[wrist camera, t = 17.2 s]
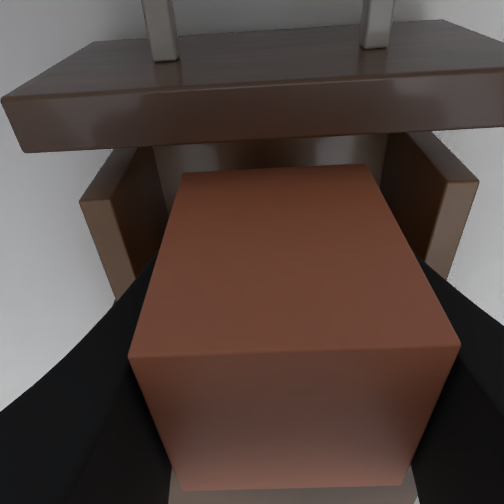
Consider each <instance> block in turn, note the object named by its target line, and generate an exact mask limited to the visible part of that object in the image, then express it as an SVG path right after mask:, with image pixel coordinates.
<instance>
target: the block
mask: <svg viewBox="0 0 504 504" xmlns="http://www.w3.org/2000/svg"><path fill="white" fill-rule="evenodd" d="M460 347H461V342H460V340H459V338H458V336H457V334H456V332H455V331H454V329H453V327H452V325H451V323H450V321H449V319H448V317H447V315H446V314H445V312H444V310H443V308H442V306H441V304H440V302H439V300H438V299H437V297H436V295H435V293H434V291H433V289H432V287H431V285H430V283H429V282H428V280H427V278H426V276H425V274H424V272H423V270H422V268H421V267H420V265H419V263H418V261H417V259H416V257H415V255H414V253H413V251H412V250H411V248H410V246H409V244H408V242H407V240H406V238H405V236H404V235H403V233H402V231H401V229H400V227H399V225H398V223H397V221H396V219H395V218H394V216H393V214H392V212H391V210H390V208H389V206H388V204H387V203H386V201H385V199H384V197H383V195H382V193H381V191H380V189H379V187H378V186H377V184H376V182H375V180H374V178H373V176H372V174H371V172H370V171H369V169H368V167H367V165H366V164H365V163H359V164H340V165H321V166H302V167H283V168H264V169H245V170H225V171H206V172H187V173H182V177H181V180H180V183H179V187H178V190H177V193H176V196H175V200H174V203H173V206H172V210H171V213H170V216H169V220H168V223H167V226H166V230H165V233H164V236H163V240H162V243H161V246H160V250H159V253H158V256H157V260H156V263H155V266H154V270H153V273H152V276H151V280H150V283H149V286H148V290H147V293H146V296H145V300H144V303H143V306H142V310H141V313H140V316H139V320H138V323H137V326H136V330H135V333H134V336H133V340H132V343H131V346H130V350H129V353H128V359H129V362H130V364H131V367H132V369H133V372H134V374H135V377H136V379H137V382H138V384H139V386H140V389H141V391H142V394H143V396H144V399H145V401H146V404H147V406H148V409H149V411H150V414H151V416H152V418H153V421H154V423H155V426H156V428H157V431H158V433H159V436H160V438H161V441H162V443H163V446H164V448H165V450H166V453H167V455H168V458H169V460H170V463H171V465H172V468H173V470H174V473H175V475H176V478H177V480H178V482H179V485H180V487H181V490H182V491H209V490H247V489H286V488H324V487H362V486H400V485H401V484H402V482H403V480H404V477H405V475H406V473H407V470H408V468H409V466H410V463H411V461H412V459H413V456H414V454H415V452H416V449H417V447H418V445H419V442H420V440H421V438H422V435H423V433H424V431H425V428H426V426H427V424H428V421H429V419H430V417H431V414H432V412H433V410H434V407H435V405H436V403H437V400H438V398H439V396H440V393H441V391H442V389H443V386H444V384H445V382H446V379H447V377H448V375H449V372H450V370H451V368H452V366H453V363H454V361H455V359H456V356H457V354H458V352H459V349H460Z"/></svg>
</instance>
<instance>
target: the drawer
mask: <svg viewBox="0 0 504 504" xmlns="http://www.w3.org/2000/svg"><path fill="white" fill-rule="evenodd" d="M141 2H142V7H143V12H144V17H145V22H146V28H147V33H148V38H144V39H128V40H112V41H97V42H92V43H90V44H89V45H87V46H86V47H84V48H82V49H81V50H79V51H77V52H76V53H74V54H72V55H71V56H69V57H67V58H66V59H64V60H62V61H61V62H59V63H58V64H56V65H54V66H53V67H51V68H49V69H48V70H46V71H44V72H43V73H41V74H39V75H38V76H36V77H34V78H33V79H31V80H30V81H28V82H26V83H25V84H23V85H21V86H20V87H18V88H16V89H15V90H13V91H11V92H10V93H8V94H6V95H5V96H3V97H2V98H1V104H2V106H3V108H4V110H5V113H6V115H7V117H8V119H9V122H10V124H11V126H12V129H13V131H14V133H15V135H16V138H17V140H18V142H19V144H20V147H21V149H22V151H23V152H24V153H40V152H59V151H77V150H95V149H113V148H114V150H113V151H112V153H111V154H110V156H109V157H108V158H107V160H106V161H105V163H104V164H103V166H102V167H101V169H100V170H99V172H98V173H97V175H96V176H95V178H94V179H93V181H92V182H91V184H90V185H89V187H88V188H87V190H86V191H85V193H84V194H83V196H82V197H81V199H80V200H79V204H80V206H81V209H82V212H83V214H84V217H85V220H86V222H87V225H88V228H89V230H90V233H91V235H92V238H93V241H94V243H95V246H96V249H97V251H98V254H99V256H100V259H101V262H102V264H103V267H104V270H105V272H106V275H107V277H108V280H109V283H110V285H111V288H112V291H113V293H114V296H115V298H116V301H117V300H118V299H119V298H120V297H121V296H122V295H123V293H124V292H125V291H126V290H127V289H128V287H129V286H130V285H131V284H132V283H133V281H134V280H135V279H136V278H137V276H138V275H139V274H140V273H141V271H142V270H143V269H144V268H145V266H146V265H147V264H148V262H149V261H150V260H151V259H152V257H153V256H154V255H155V254H156V253H157V251H158V250H159V249H160V246H161V243H162V240H163V236H164V233H165V230H166V226H167V223H168V220H169V216H170V213H171V210H172V206H173V203H174V200H175V196H176V193H177V190H178V187H179V183H180V180H181V177H182V173H187V172H206V171H225V170H245V169H264V168H283V167H302V166H321V165H340V164H359V163H365V164H366V165H367V167H368V169H369V171H370V172H371V174H372V176H373V178H374V180H375V182H376V184H377V186H378V187H379V189H380V191H381V193H382V195H383V197H384V199H385V201H386V203H387V204H388V206H389V208H390V210H391V212H392V214H393V216H394V218H395V219H396V221H397V223H398V225H399V227H400V229H401V231H402V233H403V235H404V236H405V238H406V240H407V242H408V244H409V246H410V248H411V250H412V251H413V252H414V253H415V254H416V255H418V256H419V257H420V258H421V259H422V260H423V261H424V262H425V263H427V264H428V265H429V266H430V267H431V268H432V269H433V270H435V271H436V272H437V273H438V274H439V275H440V276H441V277H443V278H444V279H445V280H447V277H448V274H449V271H450V268H451V265H452V262H453V259H454V256H455V253H456V250H457V247H458V244H459V242H460V239H461V236H462V233H463V230H464V227H465V224H466V221H467V218H468V215H469V212H470V209H471V206H472V203H473V200H474V197H475V194H476V191H477V188H478V185H479V180H478V178H477V177H476V176H475V175H474V174H473V173H472V172H471V171H470V170H469V169H468V168H467V167H466V166H465V165H464V164H463V163H462V162H461V161H460V160H459V159H458V158H457V157H456V156H455V155H454V154H453V153H452V152H451V151H450V150H449V149H448V148H447V147H446V146H445V145H444V144H443V143H442V142H441V141H440V140H439V139H438V138H437V137H436V136H435V135H434V134H433V133H432V132H431V131H440V130H458V129H476V128H494V127H504V43H503V42H500V41H498V40H495V39H493V38H490V37H487V36H485V35H482V34H479V33H477V32H474V31H471V30H469V29H466V28H464V27H461V26H458V25H456V24H453V23H450V22H448V21H445V20H442V19H441V20H425V21H409V22H394V23H392V20H393V13H394V6H395V0H363V8H362V18H361V25H347V26H331V27H316V28H300V29H284V30H269V31H253V32H237V33H222V34H206V35H191V36H177V29H176V23H175V16H174V10H173V3H172V0H141Z"/></svg>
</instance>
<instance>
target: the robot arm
mask: <svg viewBox="0 0 504 504" xmlns="http://www.w3.org/2000/svg"><path fill="white" fill-rule="evenodd" d="M159 250H160V249H159ZM159 250H158V251H157V253H156V254H155V255H154V256H153V257H152V259H151V260H150V261H149V262H148V264H147V265H146V266H145V268H144V269H143V270H142V271H141V273H140V274H139V275H138V276H137V278H136V279H135V280H134V281H133V283H132V284H131V285H130V286H129V287H128V289H127V290H126V291H125V292H124V293H123V295H122V296H121V297H120V298H119V299H118V300H117V302H116V303H115V304H114V305H113V306H112V308H111V309H110V310H109V311H108V312H107V313H106V314H105V315H104V317H103V318H102V319H101V320H100V321H99V322H98V323H97V324H96V325H95V326H94V327H93V328H92V329H91V330H90V332H89V333H88V334H87V335H86V336H85V337H84V338H83V339H82V340H81V341H80V342H79V343H78V344H77V345H76V346H75V347H74V348H73V349H72V350H71V351H70V352H69V353H68V354H67V355H66V356H65V357H64V358H63V359H62V360H61V361H60V362H59V363H58V364H56V365H55V366H54V367H53V368H52V369H51V370H50V371H49V372H48V373H47V374H45V375H44V376H43V377H42V378H41V379H40V380H39V381H38V382H36V383H35V384H34V385H33V386H32V387H30V388H29V389H28V390H27V391H26V392H24V393H23V394H22V395H21V396H19V397H18V398H17V399H16V400H14V401H13V402H12V403H11V404H9V405H8V406H7V407H6V408H5V409H3V410H2V411H1V412H0V504H168V502H169V491H170V481H171V472H172V465H171V463H170V460H169V458H168V455H167V453H166V450H165V448H164V446H163V443H162V441H161V438H160V436H159V433H158V431H157V428H156V426H155V423H154V421H153V418H152V416H151V414H150V411H149V409H148V406H147V404H146V401H145V399H144V396H143V394H142V391H141V389H140V386H139V384H138V382H137V379H136V377H135V374H134V372H133V369H132V367H131V364H130V362H129V359H128V353H129V350H130V346H131V343H132V340H133V336H134V333H135V330H136V326H137V323H138V320H139V316H140V313H141V310H142V306H143V303H144V300H145V296H146V293H147V290H148V286H149V283H150V280H151V276H152V273H153V270H154V266H155V263H156V260H157V256H158V253H159ZM413 253H414V252H413ZM414 255H415V257H416V259H417V261H418V263H419V265H420V267H421V268H422V270H423V272H424V274H425V276H426V278H427V280H428V282H429V283H430V285H431V287H432V289H433V291H434V293H435V295H436V297H437V299H438V300H439V302H440V304H441V306H442V308H443V310H444V312H445V314H446V315H447V317H448V319H449V321H450V323H451V325H452V327H453V329H454V331H455V332H456V334H457V336H458V338H459V340H460V342H461V347H460V349H459V352H458V354H457V356H456V359H455V361H454V363H453V366H452V368H451V370H450V372H449V375H448V377H447V379H446V382H445V384H444V386H443V389H442V391H441V393H440V396H439V398H438V400H437V403H436V405H435V407H434V410H433V412H432V414H431V417H430V419H429V421H428V424H427V426H426V428H425V431H424V433H423V435H422V438H421V440H420V442H419V445H418V447H417V449H416V452H415V454H414V456H413V459H412V461H411V463H410V464H411V468H412V472H413V477H414V481H415V485H416V489H417V493H418V498H419V502H420V504H504V326H503V325H502V324H500V323H499V322H498V321H496V320H495V319H494V318H492V317H491V316H490V315H488V314H487V313H486V312H484V311H483V310H482V309H480V308H479V307H478V306H477V305H475V304H474V303H473V302H472V301H470V300H469V299H468V298H467V297H465V296H464V295H463V294H462V293H460V292H459V291H458V290H457V289H456V288H454V287H453V286H452V285H451V284H450V283H448V282H447V281H446V280H445V279H444V278H443V277H441V276H440V275H439V274H438V273H437V272H436V271H435V270H433V269H432V268H431V267H430V266H429V265H428V264H427V263H425V262H424V261H423V260H422V259H421V258H420V257H419V256H418V255H416V254H415V253H414Z"/></svg>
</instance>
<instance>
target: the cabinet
mask: <svg viewBox="0 0 504 504" xmlns="http://www.w3.org/2000/svg"><path fill="white" fill-rule="evenodd" d="M116 302H117V301H116V298H115V301H114V304H115V303H116ZM114 304H113V305H114ZM417 496H418V493H417V489H416V485H415V481H414V477H413V472H412V468H411V464H410V466H409V468H408V470H407V473H406V475H405V477H404V480H403V482H402V484H401V485H400V486H362V487H324V488H286V489H247V490H209V491H182V490H181V487H180V485H179V482H178V480H177V478H176V475H175V473H174V470H173V468H172V472H171V481H170V491H169V502H168V504H414V502H415V500H416V498H417Z"/></svg>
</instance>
